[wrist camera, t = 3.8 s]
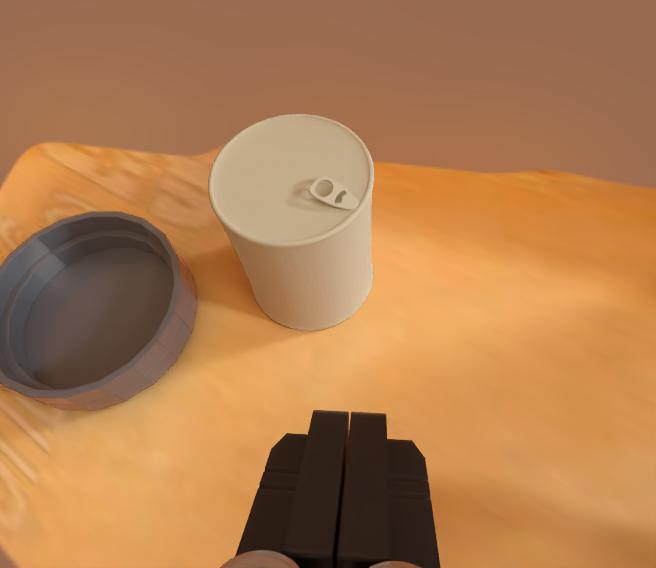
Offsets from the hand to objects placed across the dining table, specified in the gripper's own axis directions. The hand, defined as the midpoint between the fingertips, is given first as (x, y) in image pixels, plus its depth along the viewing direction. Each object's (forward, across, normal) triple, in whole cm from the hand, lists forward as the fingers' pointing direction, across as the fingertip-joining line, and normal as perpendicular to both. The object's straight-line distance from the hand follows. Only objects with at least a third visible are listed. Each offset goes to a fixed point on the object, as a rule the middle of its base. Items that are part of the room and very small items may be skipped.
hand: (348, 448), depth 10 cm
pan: (+23, +19, +7) cm, 31 cm away
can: (+26, +4, +4) cm, 27 cm away
